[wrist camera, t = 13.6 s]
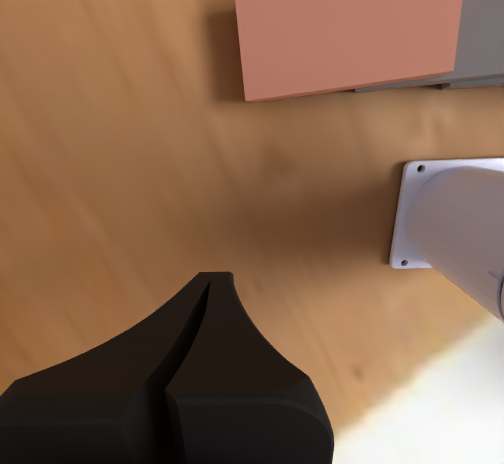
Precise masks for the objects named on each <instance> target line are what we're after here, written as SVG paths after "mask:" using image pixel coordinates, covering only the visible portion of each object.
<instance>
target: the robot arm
mask: <svg viewBox="0 0 504 464" xmlns="http://www.w3.org/2000/svg"><path fill="white" fill-rule="evenodd" d="M420 165H421V166H422V169H421V170H420V171H419V172H418V171H417V168H418V167H419V166H420ZM403 260H406V261H405V262H404V263H402V264H401V262H402V261H403ZM389 264H390V265H391V266H392V267H393V268H395V269H405V268H434V269H436V270H437V271H438V272H440V273H441V274H442V275H443V276H445V277H446V278H447V279H448V280H450V281H451V282H452V283H454V284H455V285H456V286H457V287H459V288H460V289H461V290H463V291H464V292H465V293H466V294H468V295H469V296H470V297H471V298H473V299H474V300H475V301H477V302H478V303H479V304H480V305H482V306H483V307H484V308H485V309H487V310H488V311H489V312H491V313H492V314H493V315H494V316H496V317H497V318H498V319H499V320H501V321H502V322H503V323H504V157H501V158H474V159H447V160H420V161H409V162H408V163H406V164H405V166H404V169H403V175H402V182H401V188H400V195H399V201H398V208H397V214H396V220H395V227H394V233H393V240H392V246H391V253H390V259H389ZM333 451H334V435H333V430H332V427H331V423H330V421H329V418H328V415H327V413H326V410H325V408H324V405H323V403H322V401H321V399H320V397H319V394H318V392H317V390H316V389H315V387H314V385H313V383H312V381H311V379H310V377H309V376H308V375H306V374H305V373H304V372H302V371H301V370H300V369H298V368H297V367H296V366H294V365H293V364H292V363H290V362H289V361H287V360H286V359H285V358H284V357H283V356H282V355H281V354H280V353H279V352H278V351H277V350H276V349H275V348H274V347H273V346H272V345H271V344H270V343H269V342H268V341H267V340H266V339H265V338H264V337H263V335H262V334H261V333H260V332H259V330H258V329H257V328H256V326H255V325H254V324H253V322H252V321H251V319H250V318H249V316H248V315H247V313H246V311H245V309H244V307H243V306H242V304H241V302H240V299H239V297H238V295H237V292H236V290H235V286H234V280H233V274H232V273H231V272H199V273H198V274H197V275H196V276H195V277H194V278H193V279H192V280H191V281H190V282H189V283H188V284H187V285H186V286H184V287H183V288H182V289H181V290H180V291H179V292H178V293H177V294H176V295H175V296H174V297H172V298H171V299H170V300H169V301H167V302H166V303H165V304H164V305H163V306H161V307H160V308H159V309H158V310H156V311H155V312H154V313H152V314H151V315H150V316H148V317H147V318H145V319H144V320H142V321H141V322H139V323H138V324H136V325H135V326H133V327H132V328H130V329H128V330H127V331H125V332H123V333H121V334H119V335H118V336H116V337H114V338H112V339H111V340H109V341H107V342H105V343H103V344H101V345H99V346H97V347H95V348H93V349H91V350H89V351H87V352H85V353H83V354H80V355H78V356H76V357H74V358H72V359H69V360H67V361H65V362H62V363H60V364H57V365H55V366H52V367H50V368H47V369H44V370H42V371H39V372H37V373H34V374H31V375H29V376H26V377H23V378H20V379H18V380H15V381H14V382H13V383H12V384H11V385H10V386H9V387H8V389H7V390H6V391H5V392H4V393H3V394H2V395H1V396H0V464H332V459H333Z"/></svg>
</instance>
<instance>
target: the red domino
mask: <svg viewBox="0 0 504 464" xmlns="http://www.w3.org/2000/svg"><path fill="white" fill-rule="evenodd" d="M462 1H463V0H235V4H236V14H237V24H238V34H239V44H240V53H241V63H242V73H243V83H244V93H245V101H248V102H256V103H257V102H264V101H271V100H278V99H285V98H292V97H299V96H306V95H313V94H320V93H327V92H334V91H341V90H348V89H355V88H362V87H369V86H376V85H384V84H391V83H398V82H405V81H412V80H419V79H426V78H433V77H440V76H443V75H446V74H448V73H450V72H452V71H454V63H455V55H456V48H457V40H458V32H459V24H460V17H461V9H462Z"/></svg>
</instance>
